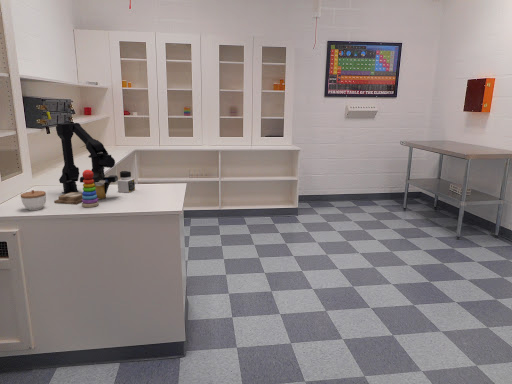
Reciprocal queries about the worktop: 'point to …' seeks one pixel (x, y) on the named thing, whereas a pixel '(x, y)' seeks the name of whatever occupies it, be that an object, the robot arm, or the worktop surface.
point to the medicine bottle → (126, 182)
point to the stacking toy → (89, 190)
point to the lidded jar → (34, 199)
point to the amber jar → (100, 190)
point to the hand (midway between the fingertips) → (100, 194)
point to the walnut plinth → (70, 198)
